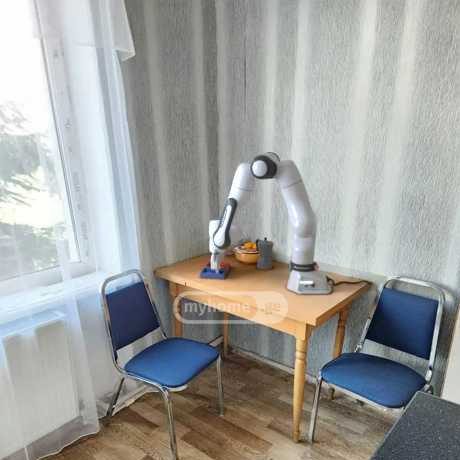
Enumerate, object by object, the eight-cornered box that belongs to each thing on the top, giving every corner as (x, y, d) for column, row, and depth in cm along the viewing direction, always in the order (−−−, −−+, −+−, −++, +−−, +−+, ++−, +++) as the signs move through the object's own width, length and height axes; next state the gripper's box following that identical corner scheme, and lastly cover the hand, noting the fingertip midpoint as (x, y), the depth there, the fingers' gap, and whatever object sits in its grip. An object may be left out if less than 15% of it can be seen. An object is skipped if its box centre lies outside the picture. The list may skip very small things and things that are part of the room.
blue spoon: (224, 274, 220) (224, 269, 219) (223, 276, 217) (223, 271, 216) (206, 273, 222) (206, 268, 221) (204, 275, 219) (204, 270, 218)
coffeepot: (278, 268, 230) (279, 238, 223) (265, 271, 225) (266, 241, 218) (261, 262, 242) (262, 233, 234) (249, 264, 237) (249, 235, 229)
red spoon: (228, 268, 230) (228, 263, 229) (226, 270, 227) (226, 265, 226) (210, 267, 232) (210, 262, 231) (209, 269, 229) (208, 264, 228)
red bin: (230, 267, 233) (230, 262, 232) (227, 272, 225) (227, 267, 224) (208, 266, 235) (208, 261, 234) (204, 271, 227) (204, 266, 226)
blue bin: (226, 273, 223) (226, 268, 222) (223, 279, 215) (223, 274, 214) (204, 272, 225) (204, 267, 224) (200, 277, 217) (200, 272, 216)
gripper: (219, 253, 203) (219, 278, 209) (226, 243, 221) (226, 266, 227) (207, 253, 204) (208, 278, 210) (215, 242, 222) (216, 265, 228)
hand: (217, 272), depth 219 cm, fingers closed on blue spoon
